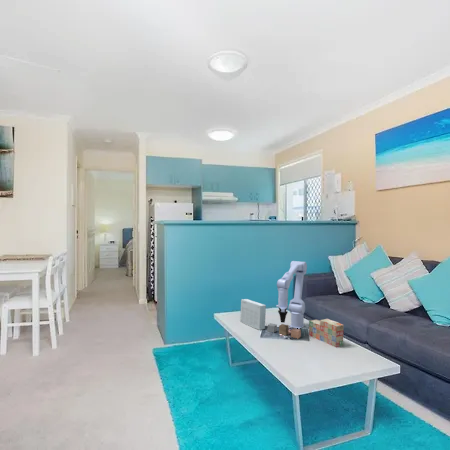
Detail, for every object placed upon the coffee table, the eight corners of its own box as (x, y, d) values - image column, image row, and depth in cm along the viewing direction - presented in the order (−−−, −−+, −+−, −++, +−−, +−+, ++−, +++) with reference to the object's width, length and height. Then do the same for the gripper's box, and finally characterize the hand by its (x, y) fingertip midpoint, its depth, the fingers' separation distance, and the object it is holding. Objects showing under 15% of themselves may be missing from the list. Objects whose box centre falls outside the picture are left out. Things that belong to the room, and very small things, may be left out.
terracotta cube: (293, 335, 197) (293, 328, 197) (300, 336, 195) (300, 329, 195) (291, 337, 194) (291, 330, 194) (298, 339, 191) (298, 331, 191)
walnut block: (281, 332, 202) (282, 324, 202) (288, 334, 199) (288, 325, 199) (278, 334, 198) (279, 325, 198) (285, 336, 195) (285, 327, 195)
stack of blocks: (308, 335, 197) (309, 315, 197) (316, 333, 201) (316, 314, 200) (335, 347, 179) (336, 325, 179) (343, 345, 182) (343, 324, 182)
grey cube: (270, 330, 206) (270, 323, 206) (276, 331, 204) (276, 324, 204) (267, 332, 202) (267, 325, 202) (273, 333, 200) (273, 326, 200)
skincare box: (265, 329, 208) (266, 304, 208) (259, 330, 205) (260, 306, 205) (246, 320, 225) (246, 298, 225) (239, 321, 222) (240, 299, 222)
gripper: (276, 295, 204) (276, 316, 204) (276, 301, 189) (275, 323, 190) (287, 296, 202) (287, 317, 203) (288, 301, 188) (287, 324, 188)
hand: (282, 320), depth 196 cm, fingers open, 7 cm apart
